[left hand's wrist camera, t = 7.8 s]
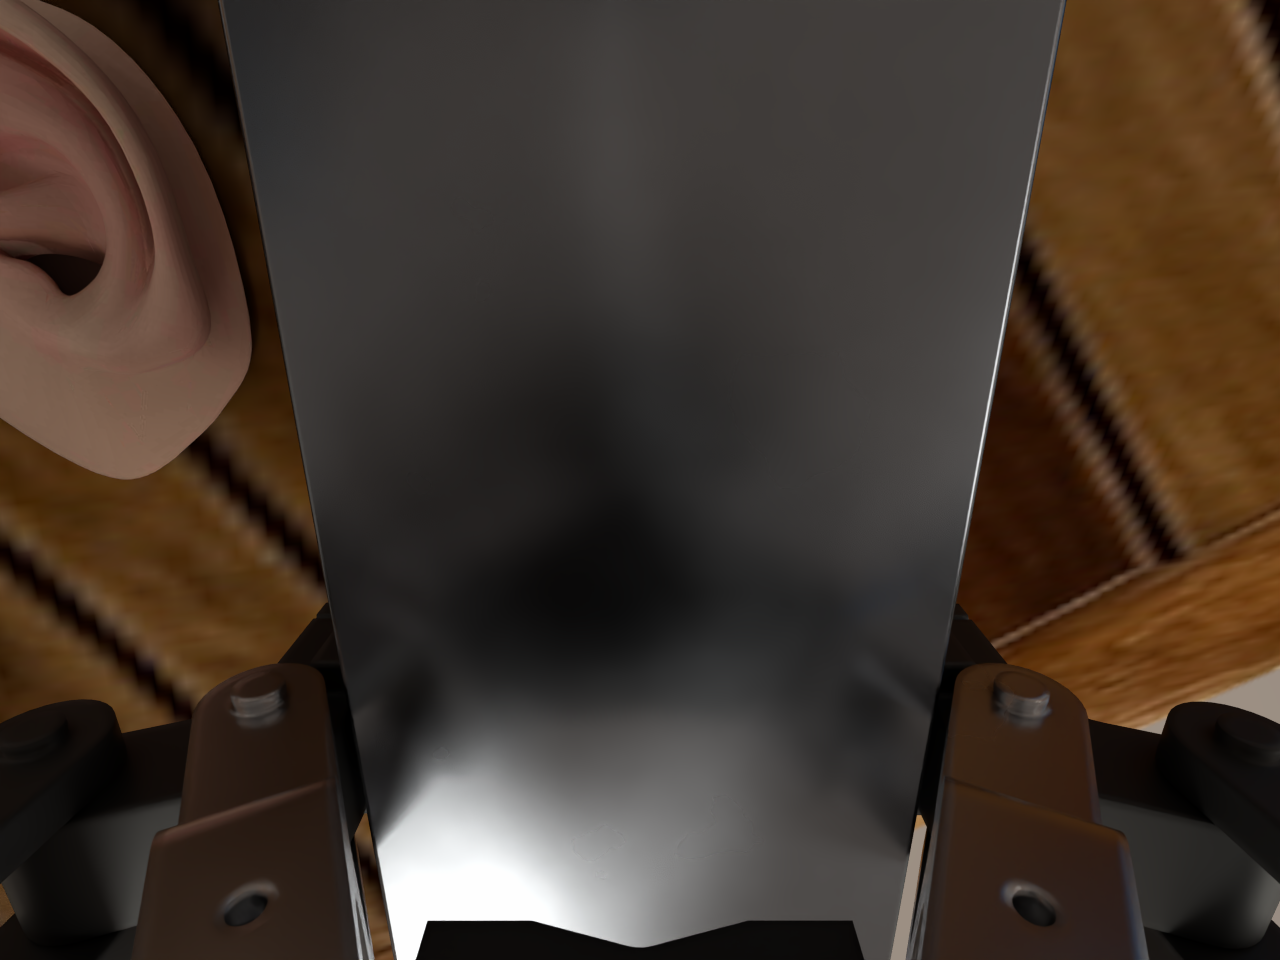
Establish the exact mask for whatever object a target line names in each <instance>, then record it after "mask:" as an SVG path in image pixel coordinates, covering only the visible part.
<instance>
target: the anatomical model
mask: <svg viewBox="0 0 1280 960" xmlns="http://www.w3.org/2000/svg"><path fill="white" fill-rule="evenodd" d="M251 351H252V340H251V329H250V319H249V313H248V308H247V302H246V297H245V292H244V288H243V283H242V279H241V275H240V271H239V267H238V263H237V259H236V255H235V251H234V248H233V244H232V241H231V238H230V234H229V231H228V227H227V224H226V221H225V218H224V215H223V212H222V209H221V207H220V204H219V201H218V199H217V196H216V193H215V190H214V188H213V185H212V182H211V180H210V178H209V176H208V173H207V171H206V169H205V167H204V165H203V163H202V161H201V158H200V156H199V154H198V152H197V150H196V148H195V146H194V144H193V142H192V141H191V139H190V137H189V135H188V134H187V132H186V130H185V129H184V127H183V125H182V124H181V122H180V120H179V118H178V117H177V115H176V114H175V112H174V111H173V110H172V108H171V107H170V105H169V104H168V102H167V101H166V99H165V98H164V96H163V95H162V94H161V93H160V91H159V90H158V89H157V87H156V86H155V85H154V84H153V82H152V81H151V80H150V79H149V77H148V76H147V75H146V74H145V73H144V72H143V71H142V69H141V68H140V67H139V66H138V65H137V64H136V63H135V62H134V60H133V59H132V58H131V57H130V56H128V55H127V54H126V53H125V52H124V51H123V50H122V49H121V48H120V47H119V46H118V45H117V44H116V43H115V42H113V41H112V40H111V39H110V38H108V37H107V36H106V35H105V34H103V33H102V32H101V31H99V30H98V29H97V28H95V27H94V26H93V25H91V24H89V23H88V22H86V21H84V20H83V19H81V18H79V17H77V16H75V15H73V14H71V13H69V12H67V11H65V10H63V9H61V8H58V7H55V6H53V5H50V4H47V3H45V2H42V1H40V0H0V418H1V419H3V420H4V421H6V422H7V423H9V424H10V425H12V426H13V427H15V428H16V429H18V430H19V431H21V432H22V433H24V434H25V435H27V436H28V437H30V438H32V439H33V440H35V441H37V442H38V443H40V444H42V445H43V446H45V447H47V448H48V449H50V450H52V451H53V452H55V453H57V454H58V455H60V456H62V457H64V458H66V459H68V460H70V461H72V462H74V463H76V464H78V465H80V466H82V467H84V468H86V469H89V470H91V471H93V472H95V473H98V474H102V475H105V476H109V477H113V478H118V479H135V478H140V477H143V476H146V475H149V474H151V473H153V472H156V471H157V470H159V469H160V468H162V467H163V466H165V465H166V464H167V463H169V462H170V461H172V460H173V459H174V458H175V457H177V456H178V455H179V454H180V453H181V452H182V451H183V450H184V449H185V448H186V447H188V446H189V445H190V444H191V443H192V442H193V441H194V440H195V439H196V438H197V437H199V436H200V435H201V434H202V433H203V432H204V431H205V430H206V429H207V428H208V427H209V426H210V425H211V424H212V423H213V422H214V421H215V419H216V418H217V417H218V415H219V414H220V413H221V411H222V410H223V409H224V407H225V406H226V404H227V403H228V402H229V400H230V399H231V398H232V396H233V395H234V393H235V392H236V391H237V389H238V388H239V386H240V384H241V383H242V381H243V379H244V377H245V375H246V373H247V370H248V367H249V363H250V358H251Z"/></svg>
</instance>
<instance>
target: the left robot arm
mask: <svg viewBox="0 0 1280 960" xmlns="http://www.w3.org/2000/svg"><path fill="white" fill-rule="evenodd" d="M364 813H367V810H366V804H365V799H364V793H363V788H362V782H361V777H360V772H359V766H358V761H357V755H356V750H355V744H354V739H353V734H352V728H351V723H350V717H349V712H348V706H347V701H346V696H345V690H344V685H343V679H342V674H341V668H340V663H339V657H338V652H337V647H336V641H335V636H334V630H333V625H332V619H331V614H330V609H329V603H326V604H325V605H324V606H323V607H322V609H321V610H320V611H319V612H318V614H317V618H316V619H313V620H312V621H311V622H310V624H309V625H308V626H307V627H306V629H305V630H304V631H303V632H302V634H301V635H300V636H299V637H298V639H297V640H296V641H295V642H294V643H293V645H292V646H291V647H290V648H289V650H288V651H287V652H286V653H285V655H284V656H283V657H282V658H281V660H280V661H279V662H278V663H277V664H270V665H266V666H261V667H257V668H254V669H250V670H248V671H245V672H242V673H240V674H237V675H235V676H233V677H231V678H229V679H227V680H225V681H224V682H222V683H220V684H219V685H217V686H216V687H214V688H213V689H212V690H210V691H209V692H208V693H207V694H206V695H205V696H204V697H203V698H202V699H201V700H200V702H199V703H198V704H197V706H196V708H195V709H194V713H193V716H192V719H189V720H185V721H181V722H176V723H171V724H166V725H161V726H156V727H151V728H146V729H141V730H136V731H131V732H126V733H121V730H120V727H119V724H118V721H117V718H116V715H115V712H114V710H113V709H112V707H111V706H109V705H108V704H106V703H104V702H101V701H96V700H70V701H64V702H58V703H54V704H50V705H46V706H42V707H39V708H36V709H33V710H30V711H28V712H25V713H22V714H20V715H17V716H15V717H13V718H11V719H9V720H7V721H4V722H3V723H1V724H0V884H1V883H2V885H3V887H4V890H5V892H6V894H7V896H8V898H9V901H10V903H11V905H12V907H13V910H14V912H15V914H14V915H13V916H12V917H11V918H10V919H9V920H8V921H7V922H6V923H5V924H3V925H2V926H1V927H0V960H374V954H373V948H372V941H371V934H370V928H369V921H368V915H367V908H366V902H365V895H364V889H363V882H362V876H361V869H360V862H359V856H358V850H357V845H356V839H355V832H356V830H357V828H358V826H359V823H360V821H361V819H362V817H363V815H364ZM917 815H922V818H923V820H924V822H925V824H926V826H927V829H926V834H925V840H924V845H923V850H922V856H921V863H920V869H919V876H918V882H917V889H916V895H915V902H914V908H913V915H912V922H911V928H910V935H909V941H908V948H907V954H906V960H1280V927H1278V925H1276V924H1275V923H1274V922H1273V921H1272V920H1271V919H1272V917H1273V915H1274V912H1275V910H1276V908H1277V906H1278V904H1279V901H1280V724H1278V723H1276V722H1274V721H1272V720H1270V719H1267V718H1265V717H1263V716H1260V715H1258V714H1255V713H1252V712H1249V711H1246V710H1243V709H1240V708H1236V707H1232V706H1228V705H1224V704H1218V703H1212V702H1188V703H1182V704H1180V705H1177V706H1175V707H1174V708H1172V709H1171V710H1170V712H1169V714H1168V716H1167V719H1166V723H1165V725H1164V728H1163V731H1162V734H1157V733H1152V732H1147V731H1142V730H1137V729H1132V728H1127V727H1122V726H1117V725H1112V724H1107V723H1103V722H1099V721H1095V720H1091V719H1088V716H1087V712H1086V709H1085V708H1084V706H1083V704H1082V703H1081V702H1080V700H1079V699H1078V698H1077V697H1076V696H1075V695H1074V694H1073V693H1072V692H1071V691H1070V690H1068V689H1067V688H1066V687H1064V686H1063V685H1061V684H1060V683H1058V682H1056V681H1055V680H1053V679H1051V678H1049V677H1047V676H1045V675H1043V674H1040V673H1038V672H1035V671H1032V670H1030V669H1026V668H1023V667H1019V666H1014V665H1010V664H1007V663H1006V662H1005V660H1004V659H1003V658H1002V657H1001V656H1000V654H999V653H998V652H997V651H996V649H995V648H994V647H993V646H992V644H991V643H990V642H989V641H988V639H987V638H986V637H985V636H984V635H983V633H982V632H981V631H980V630H979V628H978V627H977V626H976V625H975V623H974V622H973V621H972V620H968V615H967V614H966V612H965V611H964V610H963V609H962V607H961V606H960V605H959V604H956V605H955V610H954V615H953V621H952V626H951V632H950V637H949V643H948V648H947V654H946V659H945V664H944V670H943V675H942V681H941V686H940V692H939V697H938V703H937V708H936V713H935V719H934V724H933V730H932V735H931V741H930V746H929V751H928V757H927V762H926V768H925V773H924V779H923V784H922V790H921V795H920V800H919V806H918V811H917ZM416 960H864V957H863V953H862V950H861V947H860V943H859V940H858V937H857V933H856V930H855V927H854V923H853V920H748V921H744V922H740V923H737V924H733V925H729V926H725V927H722V928H718V929H714V930H710V931H706V932H703V933H699V934H695V935H691V936H687V937H684V938H680V939H676V940H672V941H669V942H665V943H661V944H657V945H653V946H648V947H632V946H627V945H623V944H619V943H615V942H611V941H608V940H604V939H600V938H596V937H593V936H589V935H585V934H581V933H577V932H574V931H570V930H566V929H562V928H558V927H555V926H551V925H547V924H543V923H540V922H536V921H532V920H427V923H426V927H425V930H424V933H423V937H422V940H421V943H420V947H419V950H418V953H417V957H416Z"/></svg>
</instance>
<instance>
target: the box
mask: <svg viewBox="0 0 1280 960" xmlns="http://www.w3.org/2000/svg"><path fill="white" fill-rule="evenodd" d="M1066 1H1067V0H218V5H219V11H220V16H221V21H222V27H223V32H224V38H225V43H226V49H227V54H228V60H229V65H230V70H231V76H232V81H233V87H234V92H235V98H236V103H237V108H238V114H239V119H240V125H241V130H242V136H243V141H244V147H245V152H246V157H247V163H248V168H249V174H250V179H251V185H252V190H253V195H254V201H255V206H256V212H257V217H258V223H259V228H260V233H261V239H262V244H263V250H264V255H265V261H266V266H267V272H268V277H269V282H270V288H271V293H272V299H273V304H274V310H275V315H276V320H277V326H278V331H279V337H280V342H281V348H282V353H283V359H284V364H285V369H286V375H287V380H288V386H289V391H290V397H291V402H292V407H293V413H294V418H295V424H296V429H297V435H298V440H299V445H300V451H301V456H302V462H303V467H304V473H305V478H306V484H307V489H308V494H309V500H310V505H311V511H312V516H313V522H314V527H315V532H316V538H317V543H318V549H319V554H320V560H321V565H322V570H323V576H324V581H325V587H326V592H327V598H328V603H329V609H330V614H331V619H332V625H333V630H334V636H335V641H336V647H337V652H338V657H339V663H340V668H341V674H342V679H343V685H344V690H345V696H346V701H347V706H348V712H349V717H350V723H351V728H352V734H353V739H354V744H355V750H356V755H357V761H358V766H359V772H360V777H361V782H362V788H363V793H364V799H365V804H366V810H367V815H368V821H369V826H370V831H371V837H372V842H373V848H374V853H375V859H376V864H377V869H378V875H379V880H380V886H381V891H382V897H383V902H384V907H385V913H386V918H387V924H388V929H389V935H390V940H391V946H392V951H393V956H394V960H416V957H417V953H418V950H419V947H420V943H421V940H422V937H423V933H424V930H425V927H426V923H427V920H532V921H536V922H540V923H543V924H547V925H551V926H555V927H558V928H562V929H566V930H570V931H574V932H577V933H581V934H585V935H589V936H593V937H596V938H600V939H604V940H608V941H611V942H615V943H619V944H623V945H627V946H632V947H648V946H653V945H657V944H661V943H665V942H669V941H672V940H676V939H680V938H684V937H687V936H691V935H695V934H699V933H703V932H706V931H710V930H714V929H718V928H722V927H725V926H729V925H733V924H737V923H740V922H744V921H748V920H853V923H854V927H855V930H856V933H857V937H858V940H859V943H860V947H861V950H862V953H863V957H864V960H890V958H891V953H892V947H893V942H894V937H895V931H896V926H897V920H898V915H899V909H900V904H901V898H902V893H903V888H904V882H905V877H906V871H907V866H908V860H909V855H910V849H911V844H912V839H913V833H914V828H915V822H916V817H917V811H918V806H919V800H920V795H921V790H922V784H923V779H924V773H925V768H926V762H927V757H928V751H929V746H930V741H931V735H932V730H933V724H934V719H935V713H936V708H937V703H938V697H939V692H940V686H941V681H942V675H943V670H944V664H945V659H946V654H947V648H948V643H949V637H950V632H951V626H952V621H953V615H954V610H955V605H956V599H957V594H958V588H959V583H960V577H961V572H962V566H963V561H964V556H965V550H966V545H967V539H968V534H969V528H970V523H971V518H972V512H973V507H974V501H975V496H976V490H977V485H978V479H979V474H980V469H981V463H982V458H983V452H984V447H985V441H986V436H987V430H988V425H989V420H990V414H991V409H992V403H993V398H994V392H995V387H996V381H997V376H998V371H999V365H1000V360H1001V354H1002V349H1003V343H1004V338H1005V333H1006V327H1007V322H1008V316H1009V311H1010V305H1011V300H1012V294H1013V289H1014V284H1015V278H1016V273H1017V267H1018V262H1019V256H1020V251H1021V245H1022V240H1023V235H1024V229H1025V224H1026V218H1027V213H1028V207H1029V202H1030V196H1031V191H1032V186H1033V180H1034V175H1035V169H1036V164H1037V158H1038V153H1039V148H1040V142H1041V137H1042V131H1043V126H1044V120H1045V115H1046V109H1047V104H1048V99H1049V93H1050V88H1051V82H1052V77H1053V71H1054V66H1055V60H1056V55H1057V50H1058V44H1059V39H1060V33H1061V28H1062V22H1063V17H1064V11H1065V6H1066Z"/></svg>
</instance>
